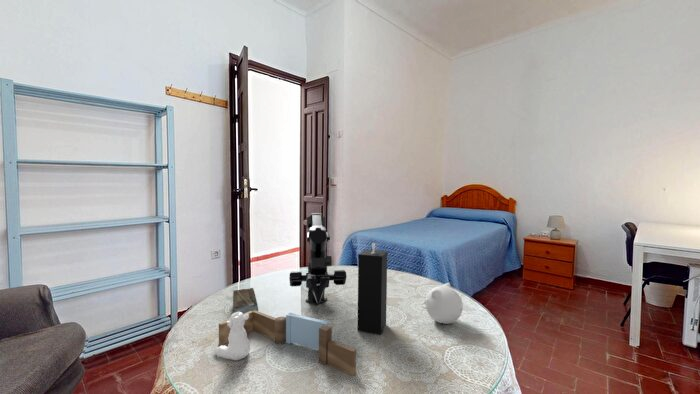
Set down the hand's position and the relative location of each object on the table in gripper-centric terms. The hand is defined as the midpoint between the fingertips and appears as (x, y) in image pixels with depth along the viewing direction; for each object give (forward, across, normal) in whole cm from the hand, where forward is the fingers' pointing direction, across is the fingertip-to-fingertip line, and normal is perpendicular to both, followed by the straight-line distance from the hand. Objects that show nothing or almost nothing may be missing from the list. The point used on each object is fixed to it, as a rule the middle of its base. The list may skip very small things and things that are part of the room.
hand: (318, 302), depth 96 cm
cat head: (+6, +43, +8) cm, 44 cm away
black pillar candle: (+6, +18, +7) cm, 20 cm away
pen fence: (+16, -9, -3) cm, 19 cm away
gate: (+13, -3, -1) cm, 14 cm away
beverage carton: (-5, -26, +18) cm, 32 cm away
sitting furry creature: (+14, -22, -1) cm, 26 cm away
